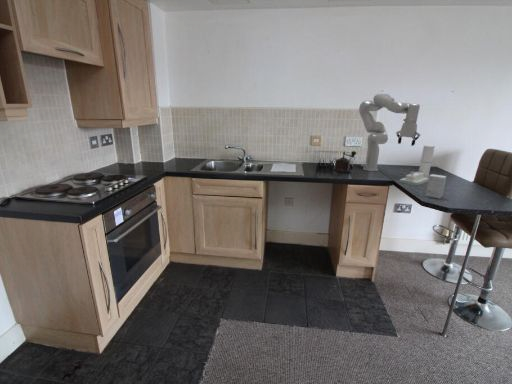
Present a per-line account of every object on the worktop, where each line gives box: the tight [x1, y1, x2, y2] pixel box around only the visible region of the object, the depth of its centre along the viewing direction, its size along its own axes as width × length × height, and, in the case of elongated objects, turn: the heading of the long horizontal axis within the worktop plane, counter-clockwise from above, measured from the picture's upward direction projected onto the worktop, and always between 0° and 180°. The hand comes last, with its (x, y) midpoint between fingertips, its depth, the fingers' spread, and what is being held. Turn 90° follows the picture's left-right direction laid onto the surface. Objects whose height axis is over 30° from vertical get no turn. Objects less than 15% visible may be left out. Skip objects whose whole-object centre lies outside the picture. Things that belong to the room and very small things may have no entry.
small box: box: [425, 173, 448, 199], centre depth 172 cm, size 8×6×13 cm
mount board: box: [399, 168, 429, 186], centre depth 208 cm, size 12×22×8 cm, turn 130°
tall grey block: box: [418, 144, 436, 178], centre depth 218 cm, size 7×7×25 cm
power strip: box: [405, 171, 424, 182], centre depth 208 cm, size 5×20×4 cm, turn 130°
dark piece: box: [334, 150, 357, 173], centre depth 236 cm, size 16×11×18 cm
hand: (405, 144), depth 213 cm, fingers open, 9 cm apart
